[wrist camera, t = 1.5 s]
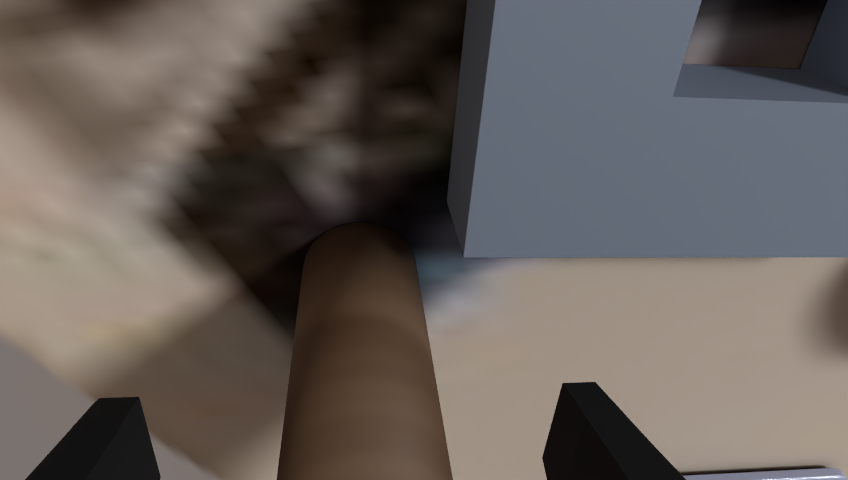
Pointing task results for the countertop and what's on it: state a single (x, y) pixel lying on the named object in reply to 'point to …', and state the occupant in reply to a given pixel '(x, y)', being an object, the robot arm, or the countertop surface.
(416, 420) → the long walnut pin
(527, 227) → the hole block
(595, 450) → the robot arm
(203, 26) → the countertop surface
